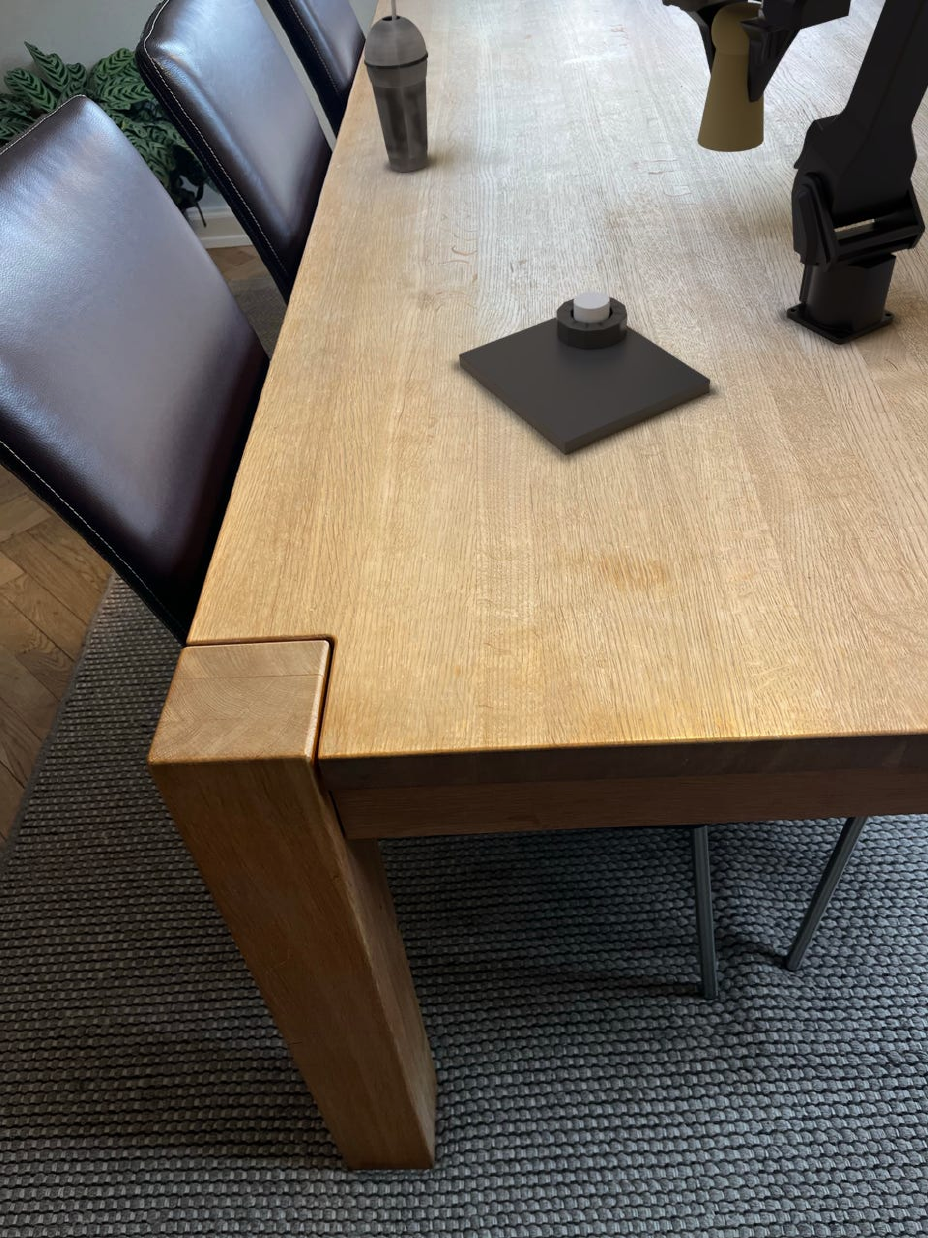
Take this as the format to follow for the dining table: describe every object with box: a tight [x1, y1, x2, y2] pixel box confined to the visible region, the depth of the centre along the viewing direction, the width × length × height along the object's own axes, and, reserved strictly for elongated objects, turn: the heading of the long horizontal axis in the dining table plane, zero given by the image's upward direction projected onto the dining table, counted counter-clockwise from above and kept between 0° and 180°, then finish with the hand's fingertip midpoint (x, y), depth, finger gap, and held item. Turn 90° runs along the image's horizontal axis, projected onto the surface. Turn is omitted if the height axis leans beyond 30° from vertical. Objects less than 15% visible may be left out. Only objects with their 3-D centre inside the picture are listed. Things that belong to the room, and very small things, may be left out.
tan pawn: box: [696, 1, 765, 153], centre depth 87 cm, size 6×6×11 cm
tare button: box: [573, 290, 610, 323], centre depth 82 cm, size 3×3×2 cm
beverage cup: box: [363, 0, 429, 173], centre depth 109 cm, size 7×7×20 cm
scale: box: [458, 296, 711, 456], centre depth 80 cm, size 16×14×3 cm
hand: (735, 95), depth 88 cm, fingers closed on tan pawn, 4 cm apart
